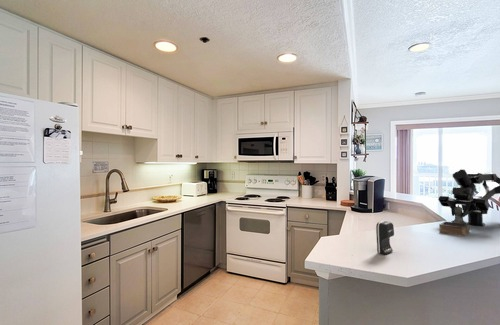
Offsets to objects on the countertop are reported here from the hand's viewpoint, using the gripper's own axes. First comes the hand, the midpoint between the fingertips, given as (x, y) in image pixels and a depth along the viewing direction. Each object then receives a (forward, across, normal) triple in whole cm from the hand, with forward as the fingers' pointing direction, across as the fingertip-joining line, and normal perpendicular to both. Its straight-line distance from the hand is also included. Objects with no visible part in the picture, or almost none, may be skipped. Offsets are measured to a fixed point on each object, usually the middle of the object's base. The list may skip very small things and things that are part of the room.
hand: (457, 216), depth 120 cm
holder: (+10, +1, -1) cm, 10 cm away
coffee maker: (+46, -1, -37) cm, 59 cm away
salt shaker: (+4, 0, +6) cm, 7 cm away
